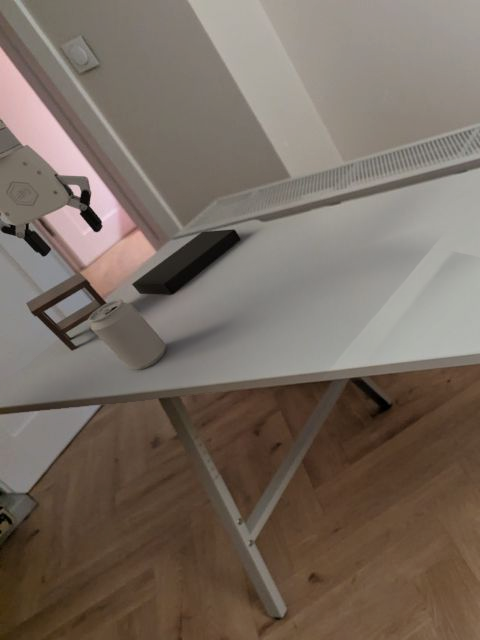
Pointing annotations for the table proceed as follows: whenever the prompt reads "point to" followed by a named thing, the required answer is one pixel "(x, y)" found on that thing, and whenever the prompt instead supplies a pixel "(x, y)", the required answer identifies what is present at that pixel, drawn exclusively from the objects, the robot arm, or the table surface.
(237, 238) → the external hard drive
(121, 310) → the can
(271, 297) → the table surface
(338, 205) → the table surface
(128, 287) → the table surface
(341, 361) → the table surface
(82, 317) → the stand
